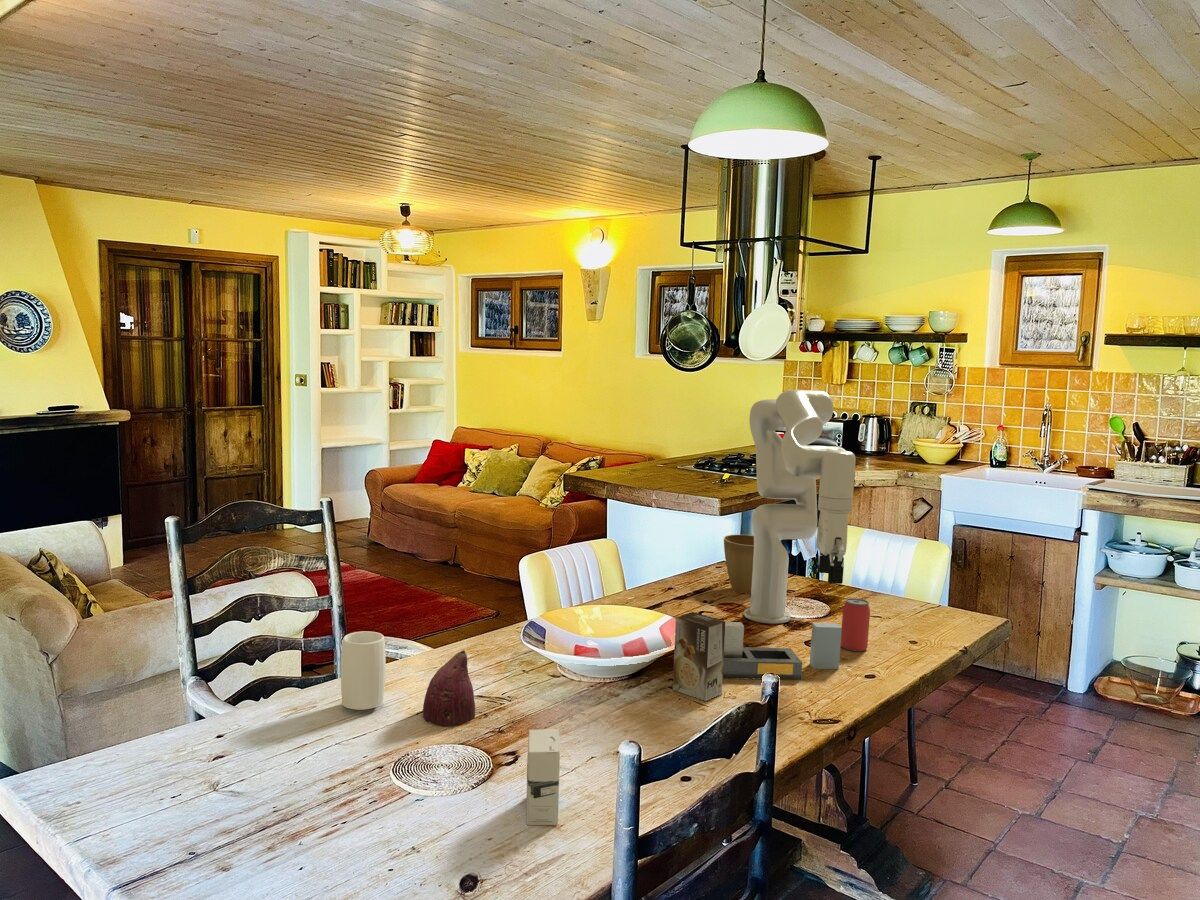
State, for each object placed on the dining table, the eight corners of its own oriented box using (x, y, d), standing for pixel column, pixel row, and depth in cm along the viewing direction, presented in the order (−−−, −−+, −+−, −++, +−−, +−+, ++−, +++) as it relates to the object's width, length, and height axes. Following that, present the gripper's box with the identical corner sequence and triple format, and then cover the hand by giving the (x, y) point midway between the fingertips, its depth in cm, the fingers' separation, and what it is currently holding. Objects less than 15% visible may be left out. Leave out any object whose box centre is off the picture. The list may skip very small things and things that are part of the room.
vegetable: (480, 726, 178) (503, 655, 177) (455, 740, 168) (480, 665, 167) (435, 704, 181) (458, 634, 180) (408, 716, 171) (433, 643, 170)
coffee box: (723, 694, 191) (727, 621, 189) (705, 702, 186) (709, 627, 185) (688, 682, 197) (692, 611, 196) (670, 689, 193) (674, 616, 191)
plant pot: (719, 595, 269) (722, 542, 267) (721, 582, 284) (724, 532, 282) (770, 599, 267) (773, 546, 265) (769, 586, 281) (772, 536, 279)
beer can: (864, 644, 229) (868, 598, 227) (869, 653, 222) (873, 605, 221) (838, 642, 229) (841, 596, 228) (842, 651, 223) (845, 603, 221)
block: (809, 664, 212) (812, 623, 211) (834, 664, 213) (837, 623, 212) (813, 668, 209) (816, 627, 208) (838, 669, 210) (841, 627, 209)
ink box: (525, 798, 144) (528, 727, 143) (556, 798, 145) (559, 727, 143) (525, 826, 136) (528, 751, 134) (558, 826, 136) (561, 751, 135)
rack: (696, 663, 210) (699, 617, 208) (790, 664, 211) (793, 619, 210) (704, 678, 200) (707, 630, 199) (802, 680, 202) (806, 632, 200)
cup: (370, 695, 182) (371, 627, 181) (393, 708, 176) (394, 638, 175) (332, 706, 176) (332, 636, 175) (354, 720, 170) (354, 647, 169)
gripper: (810, 497, 214) (806, 568, 216) (827, 510, 197) (821, 586, 199) (842, 499, 214) (837, 569, 216) (861, 511, 197) (856, 588, 198)
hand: (830, 577), depth 207 cm, fingers open, 9 cm apart
